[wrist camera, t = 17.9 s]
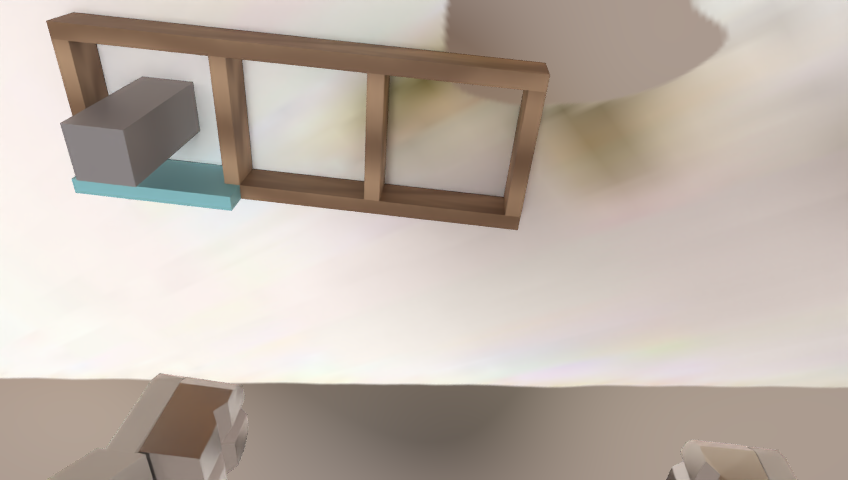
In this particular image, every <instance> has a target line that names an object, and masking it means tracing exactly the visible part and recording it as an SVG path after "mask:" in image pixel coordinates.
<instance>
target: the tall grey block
mask: <svg viewBox="0 0 848 480" xmlns="http://www.w3.org/2000/svg"><path fill="white" fill-rule="evenodd" d="M60 124H61V128H62V131H63V135H64V138H65V142H66V145H67V148H68V152H69V155H70V159H71V162H72V165H73V169H74V172H75V176H76V179H77V180H78V181H87V182H95V183H104V184H113V185H122V186H130V187H137V186H138V185H139V184H140V183H141V182H142V181H143V180H145V179H146V178H147V177H148V176H149V175H150V174H151V173H153V172H154V171H155V170H156V169H157V168H158V167H159V166H161V165H162V164H163V163H164V162H165V161H166V160H167V159H168V158H170V157H171V156H172V155H173V154H174V153H175V152H176V151H178V150H179V149H180V148H181V147H182V146H183V145H184V144H186V143H187V142H188V141H189V140H190V139H191V138H192V137H193V136H195V135H196V134H197V133H198V132H199V131H200V128H199V121H198V114H197V107H196V101H195V94H194V87H193V82H187V81H178V80H168V79H159V78H150V77H141V78H139V79H137V80H135V81H134V82H132V83H130V84H128V85H127V86H125V87H123V88H121V89H119V90H118V91H116V92H114V93H112V94H111V95H109V96H107V97H105V98H104V99H102V100H100V101H98V102H97V103H95V104H93V105H91V106H89V107H88V108H86V109H84V110H82V111H81V112H79V113H77V114H75V115H74V116H72V117H70V118H68V119H67V120H65V121H63V122H61V123H60Z"/></svg>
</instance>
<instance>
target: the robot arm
mask: <svg viewBox="0 0 848 480" xmlns="http://www.w3.org/2000/svg"><path fill="white" fill-rule="evenodd" d="M244 399H245V395H244V390H243V386H242V385H237V384H230V383H224V382H217V381H210V380H204V379H197V378H190V377H183V376H175V375H168V374H161V373H160V374H158V375H157V376H156V377H155V378H153V379H152V380H151V381H150V383H149V384H148V386H147V387H146V389H145V390H144V392H143V393H142V395H141V396H140V398H139V399H138V401H137V402H136V404H135V405H134V407H133V408H132V410H131V411H130V413H129V414H128V416H127V417H126V419H125V420H124V422H123V423H122V425H121V426H120V428H119V429H118V431H117V432H116V434H115V435H114V437H113V438H112V440H111V441H110V443H109V444H108V446H107V447H106V449H103V448H96V449H94V450H93V451H91V452H90V453H88V454H86V455H85V456H84V457H82V458H80V459H79V460H77V461H75V462H74V463H72V464H70V465H69V466H67V467H66V468H64V469H62V470H61V471H59V472H58V473H56V474H55V475H53V476H51V477H50V478H48V479H46V480H227V475H226V474H228V473H229V472H230V471H232V470H233V469H234V468H235V467H237V466H238V464H239V461H240V459H241V456H242V454H243V452H244V448H245V444H246V440H247V435H248V417H247V414H246V413H245V412H244V411H243V410H242V409H241V406H242V404H243V401H244ZM680 452H681V455H682V459H683V462H681V463H679V464H677V465H675V466H673V467H672V468H671V470H670V472H669V475H668V477H667V479H666V480H797V478H796V476H795V474H794V472H793V470H792V469H791V467H790V465H789V463H788V461H787V459H786V458H785V456H784V455H783V454H782V453H780V452H779V451H778V450H773V449H764V448H757V447H746V446H744V445H736V444H727V443H718V442H709V441H700V440H690V441H688V442H686V443H685V445H684V446H683V448H682V450H681V451H680Z"/></svg>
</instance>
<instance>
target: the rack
mask: <svg viewBox="0 0 848 480" xmlns="http://www.w3.org/2000/svg"><path fill="white" fill-rule="evenodd" d="M46 22H47V25H48V29H49V33H50V36H51V40H52V43H53V47H54V50H55V54H56V58H57V61H58V65H59V68H60V72H61V76H62V79H63V83H64V86H65V90H66V94H67V97H68V101H69V104H70V108H71V112H72V115H73V116H74V115H75V114H77V113H79V112H81V111H82V110H84V109H86V108H88V107H89V106H91V105H93V104H95V103H97V102H98V101H100V100H102V99H104V98H105V97H107V96H108V92H107V88H106V84H105V80H104V75H103V71H102V67H101V63H100V58H99V54H98V50H97V46H96V44H104V45H113V46H122V47H131V48H141V49H150V50H159V51H168V52H178V53H187V54H196V55H205V56H208V58H209V66H210V74H211V82H212V89H213V97H214V105H215V113H216V120H217V128H218V136H219V143H220V151H221V159H222V165H213V164H205V163H196V162H187V161H178V160H169V159H167V160H166V161H165V162H164V163H163V164H162V165H161V166H159V167H158V168H157V169H156V170H155V171H154V172H153V173H151V174H150V175H149V176H148V177H147V178H146V179H145V180H143V181H142V182H141V183H140V184H139V185H138V186H137V187H130V186H122V185H113V184H104V183H95V182H87V181H78V180H77V179H76V176H75V177H74V178H72V182H73V185H74V189H75V192H76V193H83V194H91V195H100V196H109V197H117V198H126V199H135V200H143V201H152V202H161V203H169V204H178V205H187V206H196V207H204V208H213V209H222V210H230V211H232V210H233V208H234V207H235V206H236V204H237V203H238V202H239V200H240V199H241V198H242V199H251V200H259V201H268V202H277V203H286V204H294V205H303V206H312V207H320V208H329V209H338V210H347V211H355V212H364V213H373V214H382V215H390V216H399V217H408V218H416V219H425V220H434V221H443V222H451V223H460V224H469V225H478V226H486V227H495V228H504V229H513V230H518V226H519V221H520V217H521V212H522V207H523V202H524V197H525V193H526V188H527V183H528V178H529V173H530V169H531V164H532V159H533V154H534V149H535V144H536V140H537V135H538V130H539V125H540V120H541V116H542V111H543V106H544V101H545V96H546V92H547V87H548V82H549V77H550V74H549V71H548V68H547V66H546V63H541V62H532V61H523V60H513V59H504V58H494V57H485V56H476V55H467V54H457V53H448V52H439V51H429V50H420V49H410V48H401V47H392V46H382V45H373V44H364V43H354V42H345V41H336V40H326V39H317V38H308V37H298V36H289V35H279V34H270V33H261V32H251V31H242V30H233V29H223V28H214V27H205V26H195V25H186V24H176V23H167V22H158V21H148V20H139V19H130V18H120V17H111V16H102V15H92V14H83V13H74V12H73V13H70V14H67V15H63V16H60V17H57V18H54V19H51V20H47V21H46ZM242 60H252V61H261V62H270V63H279V64H288V65H298V66H307V67H316V68H325V69H335V70H344V71H353V72H362V73H367V105H366V143H365V181H355V180H346V179H337V178H328V177H320V176H311V175H302V174H293V173H284V172H275V171H266V170H258V169H252V158H251V148H250V138H249V127H248V117H247V107H246V96H245V86H244V76H243V65H242ZM390 76H399V77H409V78H418V79H427V80H436V81H446V82H455V83H464V84H475V85H483V86H492V87H501V88H510V89H520V90H523V96H522V101H521V106H520V112H519V117H518V122H517V128H516V133H515V139H514V144H513V150H512V155H511V160H510V166H509V171H508V177H507V182H506V187H505V193H504V197H496V196H487V195H479V194H470V193H461V192H452V191H443V190H434V189H426V188H417V187H408V186H399V185H390V184H385V163H386V143H387V122H388V102H389V81H390Z"/></svg>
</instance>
